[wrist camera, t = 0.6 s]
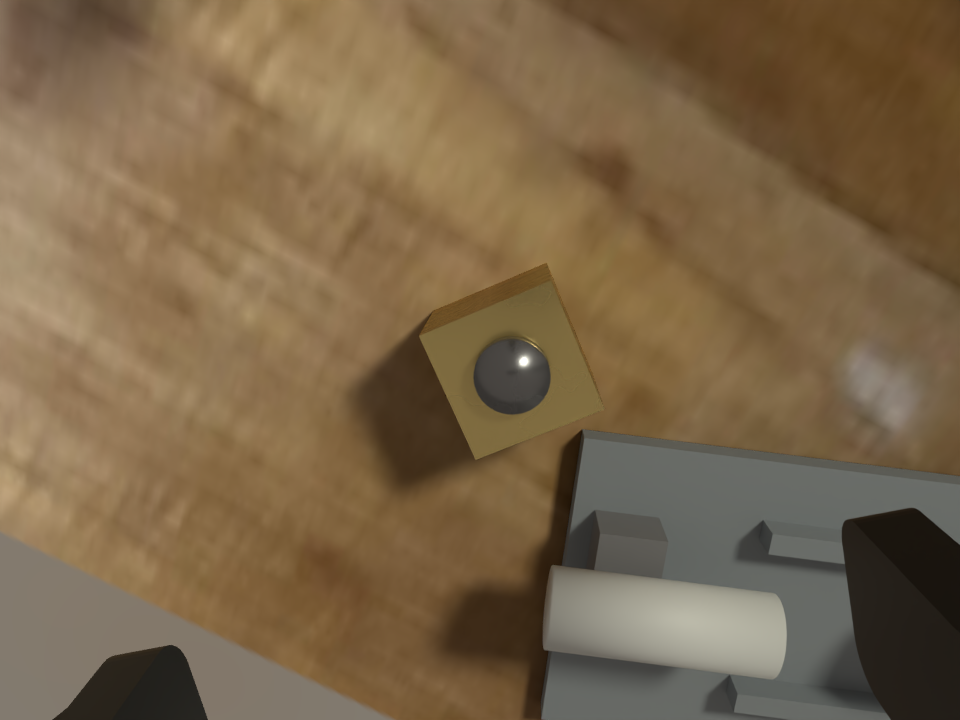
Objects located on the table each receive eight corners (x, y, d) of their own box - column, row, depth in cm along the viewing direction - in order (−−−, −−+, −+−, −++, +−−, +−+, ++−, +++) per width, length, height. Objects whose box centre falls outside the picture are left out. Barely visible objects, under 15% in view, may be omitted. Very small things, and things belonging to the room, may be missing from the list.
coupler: (546, 262, 30) (551, 283, 25) (592, 373, 30) (606, 414, 26) (433, 310, 30) (416, 339, 25) (481, 417, 31) (474, 466, 26)
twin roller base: (1136, 498, 30) (1276, 575, 25) (1046, 769, 33) (1152, 893, 28) (562, 426, 31) (571, 486, 25) (522, 700, 34) (522, 808, 28)
